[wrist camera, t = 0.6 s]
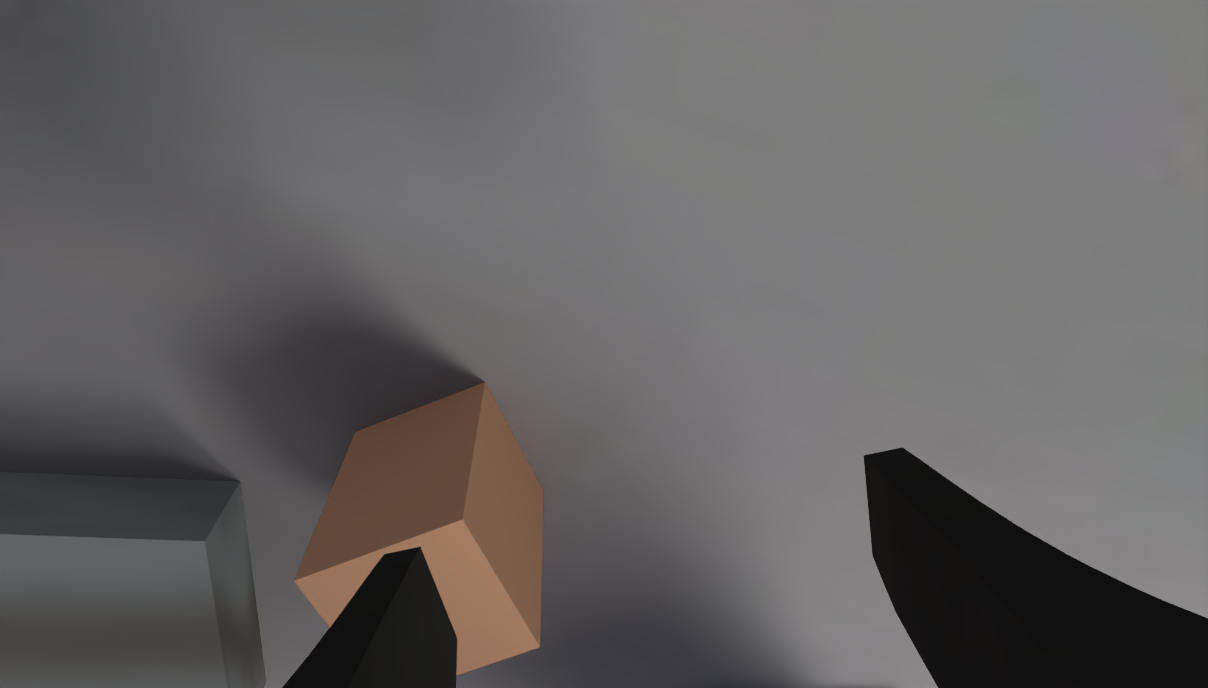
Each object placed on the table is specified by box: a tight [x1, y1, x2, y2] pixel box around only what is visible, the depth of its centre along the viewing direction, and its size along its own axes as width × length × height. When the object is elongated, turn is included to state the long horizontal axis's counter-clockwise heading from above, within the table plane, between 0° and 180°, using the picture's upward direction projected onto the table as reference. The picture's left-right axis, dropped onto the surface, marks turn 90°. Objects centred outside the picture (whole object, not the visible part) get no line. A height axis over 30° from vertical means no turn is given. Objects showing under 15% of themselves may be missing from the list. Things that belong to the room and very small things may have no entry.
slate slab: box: [0, 471, 266, 688], centre depth 24 cm, size 8×8×3 cm
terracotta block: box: [294, 382, 544, 676], centre depth 21 cm, size 4×4×6 cm
